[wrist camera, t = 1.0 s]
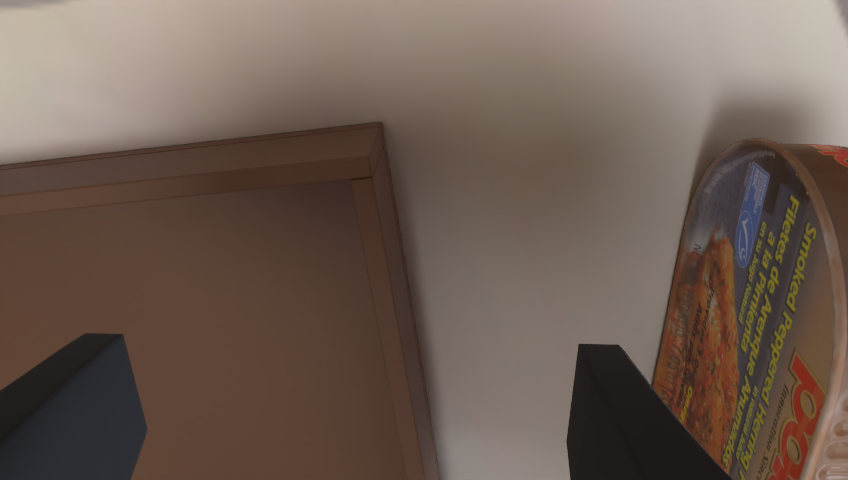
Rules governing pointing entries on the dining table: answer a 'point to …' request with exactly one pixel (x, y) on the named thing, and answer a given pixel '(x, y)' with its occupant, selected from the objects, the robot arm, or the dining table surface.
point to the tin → (763, 313)
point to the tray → (230, 300)
